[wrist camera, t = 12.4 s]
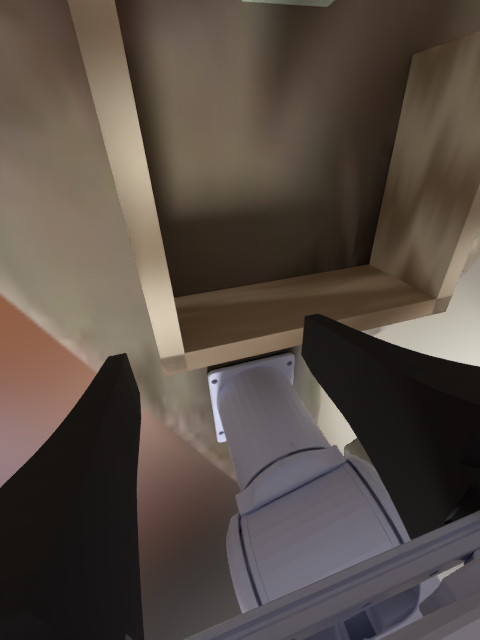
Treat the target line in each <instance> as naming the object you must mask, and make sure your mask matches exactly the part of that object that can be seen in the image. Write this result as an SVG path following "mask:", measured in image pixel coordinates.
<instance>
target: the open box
mask: <svg viewBox="0 0 480 640" xmlns="http://www.w3.org/2000/svg"><path fill="white" fill-rule="evenodd" d="M67 1H68V5H69V8H70V12H71V16H72V20H73V24H74V28H75V31H76V35H77V39H78V43H79V47H80V51H81V54H82V58H83V62H84V66H85V70H86V74H87V77H88V81H89V85H90V89H91V93H92V97H93V101H94V104H95V108H96V112H97V116H98V120H99V124H100V127H101V131H102V135H103V139H104V143H105V147H106V150H107V154H108V158H109V162H110V166H111V170H112V173H113V177H114V181H115V185H116V189H117V193H118V196H119V200H120V204H121V208H122V212H123V216H124V220H125V223H126V227H127V231H128V235H129V239H130V243H131V246H132V250H133V254H134V258H135V262H136V266H137V269H138V273H139V277H140V281H141V285H142V289H143V292H144V296H145V300H146V304H147V308H148V312H149V315H150V319H151V323H152V327H153V331H154V335H155V338H156V342H157V346H158V350H159V354H160V358H161V362H162V365H163V369H164V373H165V376H168V375H172V374H177V373H181V372H185V371H190V370H194V369H198V368H203V367H207V366H211V365H216V364H220V363H224V362H229V361H233V360H237V359H242V358H246V357H250V356H255V355H259V354H264V353H268V352H272V351H277V350H281V349H285V348H290V347H294V346H298V345H302V341H303V329H304V318H305V316H308V315H313V314H321V315H324V316H326V317H329V318H331V319H333V320H336V321H338V322H340V323H342V324H345V325H347V326H349V327H352V328H354V329H356V330H358V331H364V330H368V329H372V328H377V327H381V326H385V325H390V324H394V323H398V322H402V321H407V320H411V319H416V318H420V317H424V316H429V315H433V314H437V313H442V312H445V311H446V309H447V307H448V304H449V302H450V299H451V297H452V295H453V292H454V290H455V287H456V284H457V282H458V280H459V277H460V275H461V272H462V270H463V267H464V265H465V262H466V260H467V257H468V255H469V252H470V250H471V247H472V245H473V242H474V240H475V237H476V235H477V232H478V230H479V227H480V31H478V32H475V33H472V34H469V35H466V36H464V37H461V38H458V39H455V40H452V41H450V42H447V43H444V44H441V45H438V46H435V47H433V48H430V49H427V50H424V51H421V52H419V53H416V54H413V57H412V62H411V66H410V71H409V76H408V81H407V86H406V90H405V95H404V100H403V105H402V109H401V114H400V119H399V124H398V129H397V133H396V138H395V143H394V148H393V153H392V157H391V162H390V167H389V172H388V176H387V181H386V186H385V191H384V196H383V200H382V205H381V210H380V215H379V220H378V224H377V229H376V234H375V239H374V243H373V248H372V253H371V258H370V263H369V264H368V265H362V266H357V267H351V268H345V269H339V270H333V271H328V272H322V273H316V274H310V275H304V276H298V277H293V278H287V279H281V280H275V281H269V282H264V283H258V284H252V285H246V286H240V287H234V288H229V289H223V290H217V291H211V292H205V293H200V294H194V295H188V296H182V297H176V298H174V297H173V292H172V287H171V282H170V277H169V272H168V267H167V262H166V257H165V252H164V247H163V242H162V237H161V232H160V227H159V222H158V217H157V212H156V207H155V202H154V196H153V191H152V186H151V181H150V176H149V171H148V166H147V161H146V156H145V151H144V146H143V141H142V136H141V131H140V126H139V121H138V116H137V111H136V106H135V101H134V96H133V91H132V86H131V81H130V76H129V71H128V65H127V60H126V55H125V50H124V45H123V40H122V35H121V30H120V25H119V20H118V15H117V10H116V5H115V0H67Z"/></svg>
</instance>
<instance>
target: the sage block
mask: <svg viewBox="0 0 480 640" xmlns="http://www.w3.org/2000/svg"><path fill="white" fill-rule="evenodd" d="M241 1H245V2H260V3H275V4H290V5H306V6H321V7H327V6H329V5H330V4H331V3H333V2H334V1H335V0H241Z"/></svg>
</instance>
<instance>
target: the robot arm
mask: <svg viewBox="0 0 480 640" xmlns="http://www.w3.org/2000/svg"><path fill="white" fill-rule="evenodd" d="M301 355H302V356H303V358H304V360H305V362H306V364H307V366H308V368H309V369H310V371H311V373H312V374H313V376H314V377H315V378H316V380H317V381H318V383H319V384H320V385H321V387H322V388H323V389H324V390H325V392H326V393H327V394H328V396H329V397H330V398H331V400H332V401H333V402H334V404H335V405H336V406H337V408H338V409H339V410H340V412H341V413H342V414H343V416H344V417H345V419H346V420H347V422H348V423H349V425H350V426H351V428H352V430H353V431H354V433H355V435H356V436H357V438H358V440H359V441H360V443H361V445H362V446H363V448H364V450H365V452H366V453H367V455H368V457H369V459H370V460H371V462H372V464H373V466H374V467H375V468H374V467H373V466H372V465H371V464H370V463H369V462H368V461H366V460H363V459H361V458H359V457H357V456H355V455H350V456H348V457H346V458H344V456H343V455H342V453H341V452H340V450H339V449H338V447H337V446H336V445H333V446H330V444H329V443H328V441H327V440H326V438H325V436H324V435H323V433H322V431H321V430H320V428H319V427H318V425H317V423H316V422H315V420H314V419H313V417H312V416H311V414H310V412H309V411H308V409H307V408H306V406H305V404H304V403H303V401H302V400H301V398H300V397H299V395H298V393H297V392H296V390H295V389H294V387H293V375H294V361H295V356H294V355H293V354H292V353H285V354H281V355H276V356H272V357H268V358H263V359H259V360H255V361H251V362H246V363H242V364H238V365H234V366H229V367H225V368H221V369H216V370H212V371H210V372H209V373H208V376H207V377H208V383H209V390H210V396H211V403H212V410H213V416H214V423H215V430H216V436H217V440H218V442H224V441H227V444H228V448H229V451H230V455H231V458H232V462H233V465H234V469H235V472H236V476H237V479H238V483H239V486H240V490H241V493H239V494H237V495H236V501H237V505H238V508H239V513H237V514H236V515H234V516H233V517H232V518H231V521H230V527H229V530H228V533H227V555H228V562H229V567H230V571H231V576H232V581H233V585H234V589H235V592H236V596H237V599H238V602H239V605H240V608H241V611H242V614H241V615H238V616H236V617H234V618H232V619H229V620H227V621H225V622H222V623H220V624H218V625H216V626H213V627H211V628H209V629H206V630H204V631H202V632H199V633H197V634H195V635H193V636H190V637H188V638H186V639H183V640H480V367H479V366H473V365H468V364H463V363H458V362H454V361H450V360H445V359H441V358H437V357H433V356H429V355H425V354H422V353H419V352H416V351H412V350H409V349H406V348H402V347H400V346H397V345H394V344H391V343H388V342H386V341H383V340H381V339H378V338H375V337H373V336H370V335H368V334H366V333H363V332H361V331H358V330H356V329H354V328H352V327H349V326H347V325H345V324H342V323H340V322H338V321H336V320H333V319H331V318H329V317H326V316H324V315H321V314H313V315H308V316H305V318H304V329H303V341H302V352H301ZM289 361H290V362H289ZM288 362H289V363H288ZM214 379H216V380H215V381H212V380H214ZM140 426H141V405H140V392H139V389H138V386H137V383H136V380H135V378H134V375H133V372H132V369H131V366H130V363H129V360H128V357H127V354H126V353H124V354H119V355H114V356H109V357H108V358H107V359H106V361H105V362H104V364H103V365H102V367H101V368H100V370H99V372H98V373H97V375H96V376H95V378H94V379H93V381H92V382H91V384H90V385H89V387H88V388H87V390H86V391H85V393H84V394H83V395H82V397H81V398H80V400H79V401H78V402H77V404H76V405H75V407H74V408H73V409H72V410H71V412H70V413H69V414H68V415H67V417H66V418H65V419H64V421H63V422H62V423H61V424H60V426H59V427H58V428H57V429H56V430H55V432H54V433H53V434H52V435H51V436H50V438H49V439H48V440H47V441H46V442H45V443H44V444H43V445H42V447H40V448H39V450H38V451H37V452H36V453H35V454H34V455H33V456H32V457H31V458H30V459H29V460H28V461H27V462H26V463H25V464H24V465H23V466H22V467H21V468H20V469H19V470H18V471H17V472H16V473H15V474H14V475H13V476H12V477H11V478H10V479H9V480H8V481H7V482H6V483H5V484H4V485H3V486H2V487H1V488H0V640H144V631H143V616H142V602H141V587H140V568H139V549H138V524H137V490H136V489H137V467H138V454H139V441H140ZM463 562H464V566H463V567H461V568H459V569H458V570H456V571H455V572H453V573H451V574H450V575H448V576H447V577H445V578H443V580H442V582H440V580H439V578H438V577H437V575H438V574H440V573H442V572H444V571H446V570H448V569H451V568H453V567H455V566H457V565H459V564H461V563H463Z"/></svg>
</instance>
